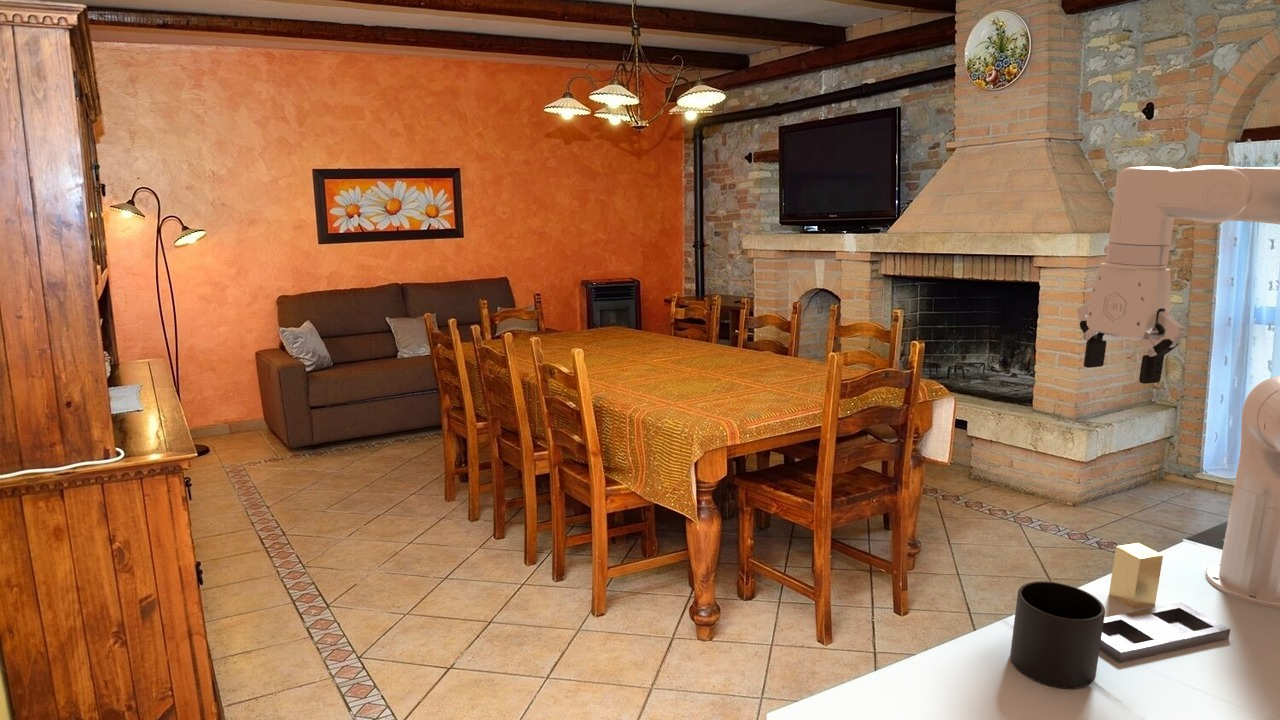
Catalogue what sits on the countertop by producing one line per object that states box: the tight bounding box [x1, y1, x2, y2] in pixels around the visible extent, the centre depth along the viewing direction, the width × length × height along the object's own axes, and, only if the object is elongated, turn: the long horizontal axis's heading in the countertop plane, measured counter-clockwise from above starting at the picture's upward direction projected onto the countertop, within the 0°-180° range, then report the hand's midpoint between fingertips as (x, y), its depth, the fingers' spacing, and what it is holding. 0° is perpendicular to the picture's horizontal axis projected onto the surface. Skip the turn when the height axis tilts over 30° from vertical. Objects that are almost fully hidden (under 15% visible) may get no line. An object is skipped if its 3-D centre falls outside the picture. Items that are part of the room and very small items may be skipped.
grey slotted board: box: [1099, 602, 1231, 664], centre depth 108 cm, size 18×7×2 cm, turn 108°
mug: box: [1009, 580, 1106, 690], centre depth 102 cm, size 9×12×9 cm
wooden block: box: [1108, 542, 1164, 609], centre depth 117 cm, size 4×4×8 cm
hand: (1120, 374), depth 122 cm, fingers open, 9 cm apart
